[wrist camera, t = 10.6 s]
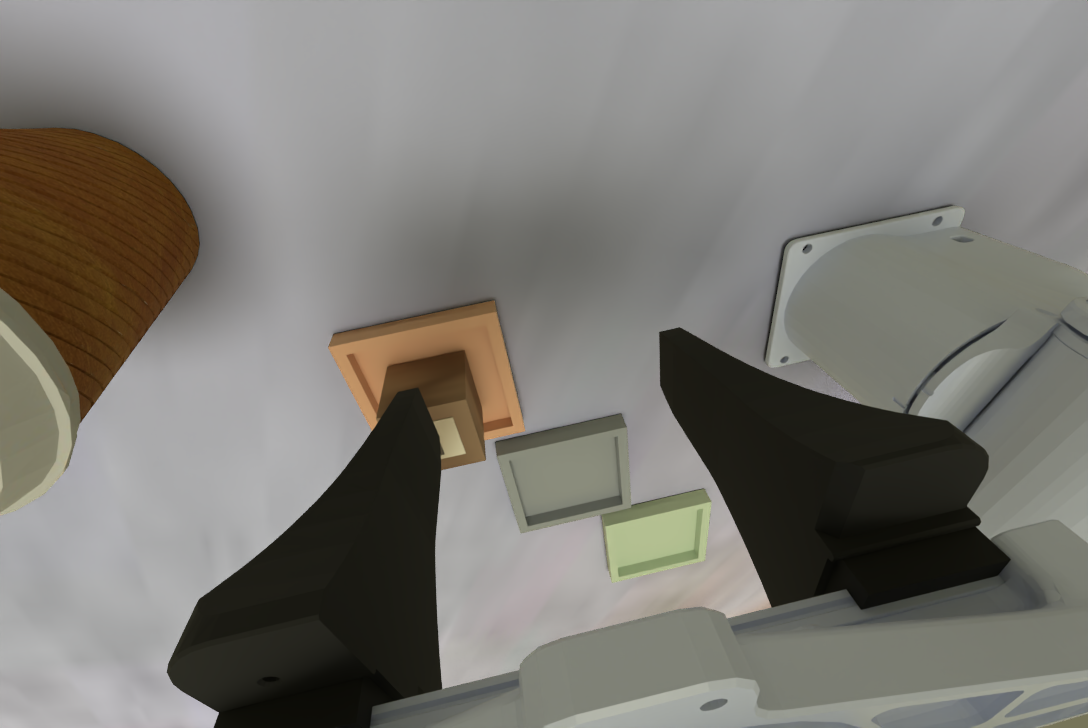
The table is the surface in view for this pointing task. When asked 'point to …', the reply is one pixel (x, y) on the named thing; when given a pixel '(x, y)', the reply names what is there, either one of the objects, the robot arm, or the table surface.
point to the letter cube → (443, 403)
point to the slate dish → (567, 472)
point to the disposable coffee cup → (75, 287)
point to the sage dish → (657, 535)
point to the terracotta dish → (432, 336)
